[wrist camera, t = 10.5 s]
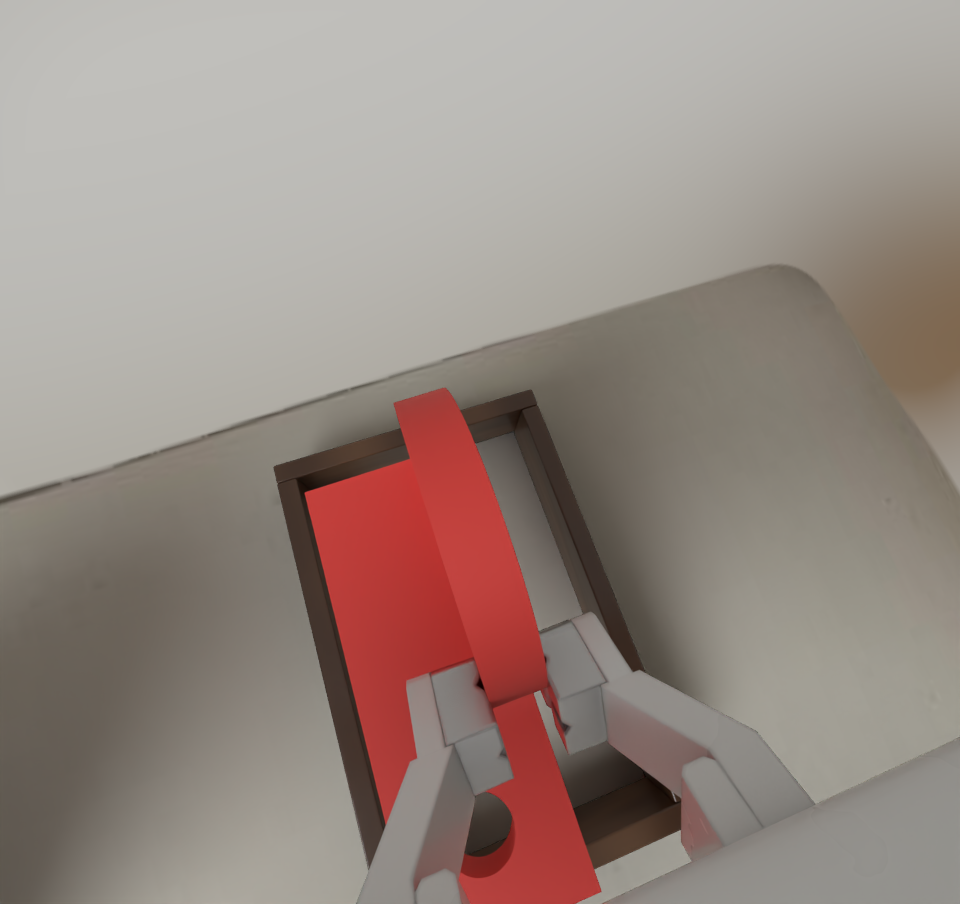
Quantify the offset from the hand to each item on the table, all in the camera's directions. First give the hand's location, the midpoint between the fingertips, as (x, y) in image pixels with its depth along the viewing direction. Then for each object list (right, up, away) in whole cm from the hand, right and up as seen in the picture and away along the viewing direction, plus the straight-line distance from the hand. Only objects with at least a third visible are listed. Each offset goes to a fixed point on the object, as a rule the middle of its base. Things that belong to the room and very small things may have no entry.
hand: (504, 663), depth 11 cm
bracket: (-2, -2, +4) cm, 5 cm away
